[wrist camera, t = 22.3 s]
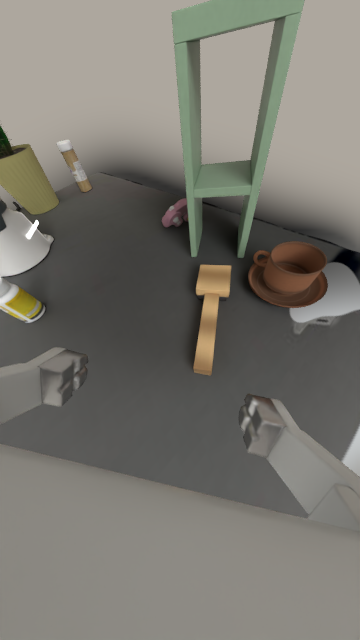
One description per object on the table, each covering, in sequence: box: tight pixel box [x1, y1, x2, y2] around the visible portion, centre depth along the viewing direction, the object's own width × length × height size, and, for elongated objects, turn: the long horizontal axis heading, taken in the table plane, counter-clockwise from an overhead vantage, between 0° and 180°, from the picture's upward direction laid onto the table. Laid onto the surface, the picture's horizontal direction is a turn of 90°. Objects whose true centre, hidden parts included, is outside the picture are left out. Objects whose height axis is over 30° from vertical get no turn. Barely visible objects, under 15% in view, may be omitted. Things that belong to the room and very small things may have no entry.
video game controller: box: [162, 198, 189, 227], centre depth 42 cm, size 10×5×7 cm, turn 123°
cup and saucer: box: [248, 241, 328, 308], centre depth 27 cm, size 12×12×6 cm
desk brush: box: [193, 265, 231, 375], centre depth 27 cm, size 19×6×3 cm, turn 169°
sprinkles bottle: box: [56, 140, 92, 192], centre depth 60 cm, size 5×4×14 cm
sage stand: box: [172, 0, 305, 258], centre depth 27 cm, size 10×11×26 cm
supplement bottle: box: [0, 277, 45, 323], centre depth 30 cm, size 5×5×8 cm
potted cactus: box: [0, 126, 59, 215], centre depth 50 cm, size 15×15×30 cm
